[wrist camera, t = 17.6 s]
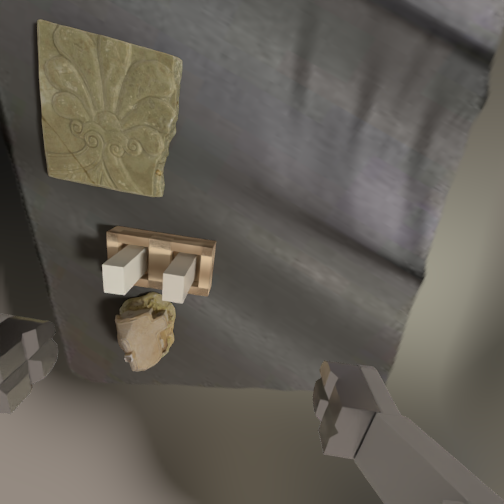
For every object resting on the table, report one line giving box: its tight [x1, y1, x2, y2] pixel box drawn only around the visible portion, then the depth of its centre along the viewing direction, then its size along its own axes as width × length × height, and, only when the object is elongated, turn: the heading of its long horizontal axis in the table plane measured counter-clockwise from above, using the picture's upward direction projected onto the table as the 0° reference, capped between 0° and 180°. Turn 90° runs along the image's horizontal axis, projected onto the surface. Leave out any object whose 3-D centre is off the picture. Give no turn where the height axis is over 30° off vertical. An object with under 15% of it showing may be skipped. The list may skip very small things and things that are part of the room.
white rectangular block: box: [102, 244, 147, 295], centre depth 42 cm, size 4×3×8 cm, turn 172°
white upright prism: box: [162, 252, 197, 304], centre depth 42 cm, size 4×3×8 cm, turn 171°
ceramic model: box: [115, 292, 176, 371], centre depth 48 cm, size 14×11×10 cm
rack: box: [106, 226, 216, 296], centre depth 46 cm, size 9×17×4 cm, turn 81°
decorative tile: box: [37, 19, 182, 197], centre depth 38 cm, size 19×20×4 cm
